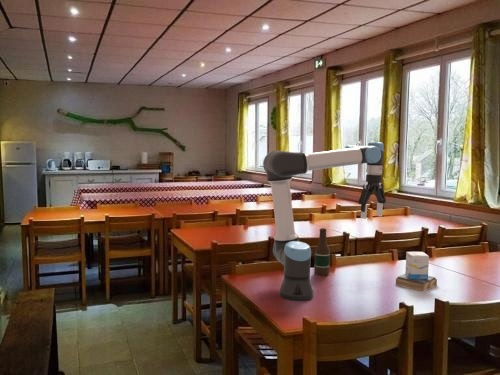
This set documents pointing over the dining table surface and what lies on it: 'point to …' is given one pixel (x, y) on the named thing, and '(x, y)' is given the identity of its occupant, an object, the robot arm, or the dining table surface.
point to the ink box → (417, 265)
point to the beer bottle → (322, 255)
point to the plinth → (416, 282)
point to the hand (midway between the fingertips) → (371, 217)
